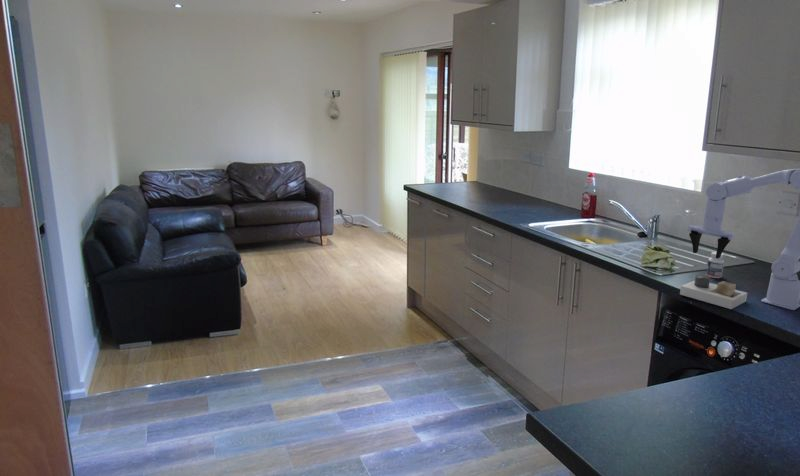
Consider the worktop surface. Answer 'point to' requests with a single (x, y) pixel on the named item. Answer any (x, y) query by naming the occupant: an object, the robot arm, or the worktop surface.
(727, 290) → the plug block
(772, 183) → the robot arm
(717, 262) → the pill bottle
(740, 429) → the worktop surface
